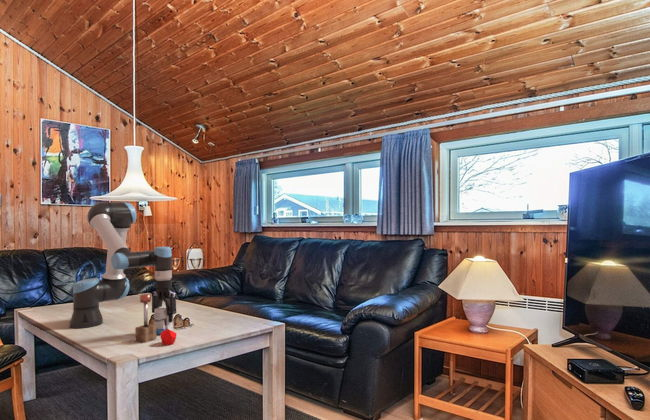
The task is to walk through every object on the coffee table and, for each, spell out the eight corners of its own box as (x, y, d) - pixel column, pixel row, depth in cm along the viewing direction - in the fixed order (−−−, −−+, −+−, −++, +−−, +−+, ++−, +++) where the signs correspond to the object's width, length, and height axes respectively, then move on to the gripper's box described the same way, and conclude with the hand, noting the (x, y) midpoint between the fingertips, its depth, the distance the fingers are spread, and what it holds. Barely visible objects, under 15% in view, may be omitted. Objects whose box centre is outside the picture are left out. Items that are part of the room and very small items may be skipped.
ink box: (163, 334, 192) (163, 309, 192) (154, 334, 193) (153, 309, 193) (174, 330, 200) (173, 305, 200) (165, 329, 201) (164, 305, 201)
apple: (179, 331, 176) (172, 322, 182) (162, 337, 172) (156, 327, 178) (180, 344, 179) (174, 334, 185) (164, 351, 175) (158, 340, 181)
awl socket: (135, 341, 183) (135, 327, 183) (146, 337, 188) (146, 324, 188) (145, 342, 180) (145, 328, 180) (156, 338, 186) (156, 325, 186)
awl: (138, 329, 183) (137, 295, 184) (146, 327, 187) (145, 293, 188) (145, 330, 182) (145, 295, 182) (153, 327, 186) (152, 294, 186)
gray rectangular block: (174, 329, 202) (174, 328, 202) (188, 324, 212) (188, 323, 212) (180, 329, 201) (180, 329, 201) (194, 324, 210) (194, 324, 210)
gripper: (142, 279, 197) (143, 328, 197) (172, 281, 190) (173, 332, 189) (155, 277, 204) (155, 325, 204) (184, 278, 197) (185, 328, 196)
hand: (164, 328), depth 196 cm, fingers closed on ink box, 6 cm apart
